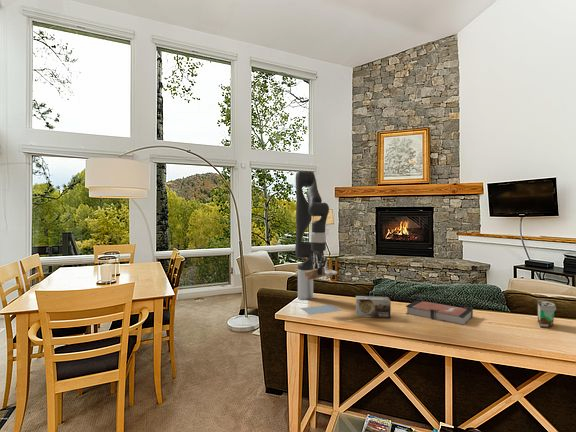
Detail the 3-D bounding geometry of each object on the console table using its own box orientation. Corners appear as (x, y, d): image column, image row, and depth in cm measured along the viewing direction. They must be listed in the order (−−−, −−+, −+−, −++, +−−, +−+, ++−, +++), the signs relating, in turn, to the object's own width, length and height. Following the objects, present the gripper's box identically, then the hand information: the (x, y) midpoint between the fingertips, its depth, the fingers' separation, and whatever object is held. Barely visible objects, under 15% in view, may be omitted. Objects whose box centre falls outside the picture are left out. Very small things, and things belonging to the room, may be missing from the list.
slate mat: (300, 309, 174) (300, 308, 174) (330, 305, 181) (330, 304, 181) (310, 315, 163) (310, 314, 163) (341, 311, 170) (341, 310, 170)
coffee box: (355, 313, 167) (388, 315, 165) (356, 317, 160) (391, 319, 158) (355, 295, 167) (388, 296, 165) (356, 298, 160) (391, 299, 158)
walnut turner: (309, 280, 166) (308, 273, 166) (303, 278, 173) (302, 270, 172) (337, 273, 172) (336, 266, 172) (330, 271, 179) (329, 264, 178)
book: (405, 315, 166) (405, 305, 166) (418, 307, 179) (418, 298, 179) (463, 326, 149) (463, 315, 149) (472, 317, 162) (472, 307, 162)
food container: (558, 331, 142) (558, 307, 142) (540, 328, 145) (540, 305, 145) (554, 323, 152) (554, 301, 152) (537, 320, 155) (537, 299, 155)
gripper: (306, 240, 176) (305, 272, 177) (318, 242, 164) (318, 277, 164) (318, 239, 179) (318, 271, 180) (331, 242, 166) (331, 276, 167)
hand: (318, 274), depth 172 cm, fingers closed on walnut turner, 3 cm apart
